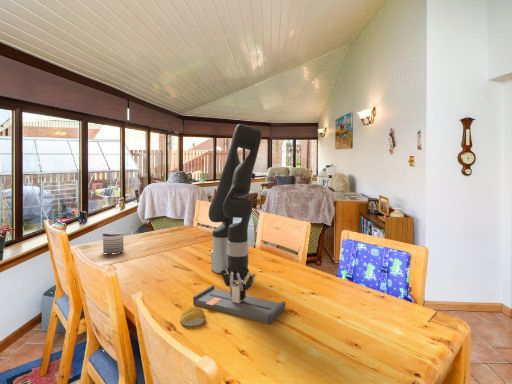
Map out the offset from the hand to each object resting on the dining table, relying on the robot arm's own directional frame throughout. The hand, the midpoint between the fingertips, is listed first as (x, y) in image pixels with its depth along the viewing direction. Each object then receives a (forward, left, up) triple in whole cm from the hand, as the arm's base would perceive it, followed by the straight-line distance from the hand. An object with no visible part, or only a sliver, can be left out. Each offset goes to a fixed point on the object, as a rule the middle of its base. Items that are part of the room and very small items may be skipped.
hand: (238, 298), depth 119 cm
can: (-100, +26, -3) cm, 103 cm away
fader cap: (0, 0, -1) cm, 1 cm away
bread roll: (-8, -16, -4) cm, 18 cm away
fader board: (0, 0, -3) cm, 3 cm away
